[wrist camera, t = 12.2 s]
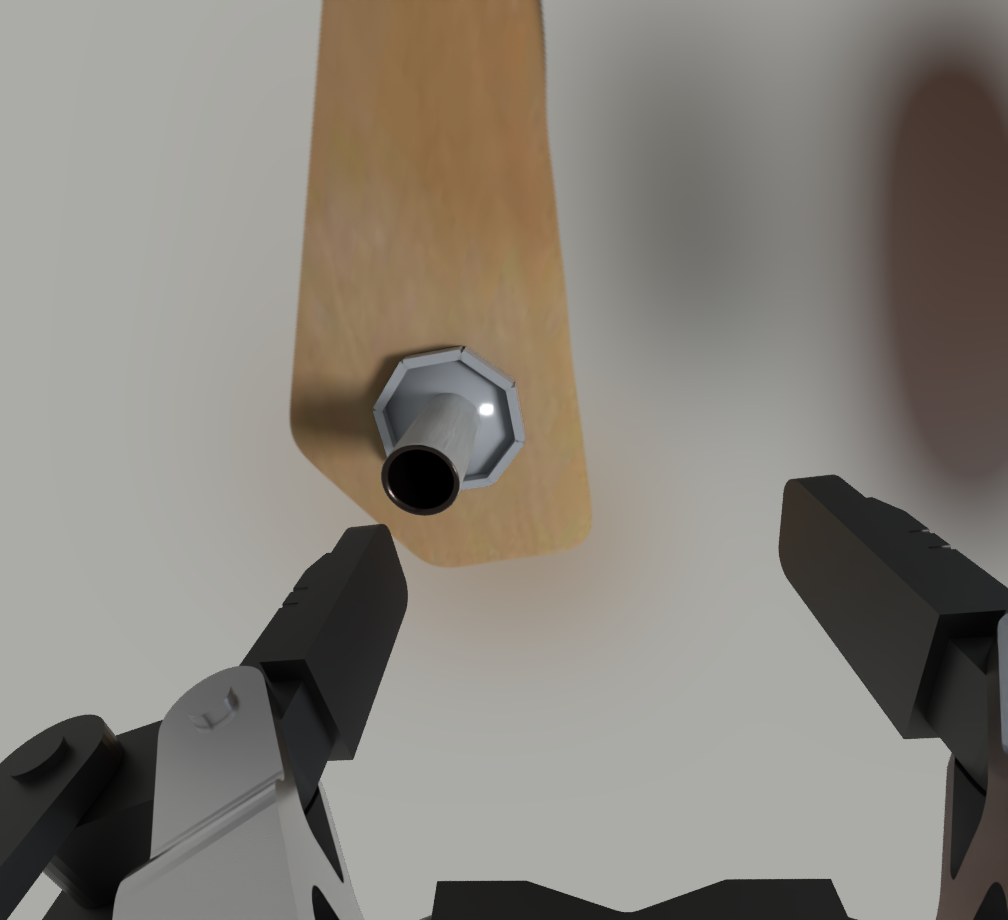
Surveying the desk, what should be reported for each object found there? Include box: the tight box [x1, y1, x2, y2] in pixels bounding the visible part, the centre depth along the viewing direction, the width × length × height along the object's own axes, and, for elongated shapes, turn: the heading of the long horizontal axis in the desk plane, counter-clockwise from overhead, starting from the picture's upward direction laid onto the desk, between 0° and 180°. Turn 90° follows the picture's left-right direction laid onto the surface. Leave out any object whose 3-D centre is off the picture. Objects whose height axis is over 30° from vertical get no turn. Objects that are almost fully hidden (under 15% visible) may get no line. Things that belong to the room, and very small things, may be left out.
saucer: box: [373, 346, 526, 490], centre depth 36 cm, size 11×11×1 cm
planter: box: [381, 393, 480, 516], centre depth 31 cm, size 4×4×10 cm
